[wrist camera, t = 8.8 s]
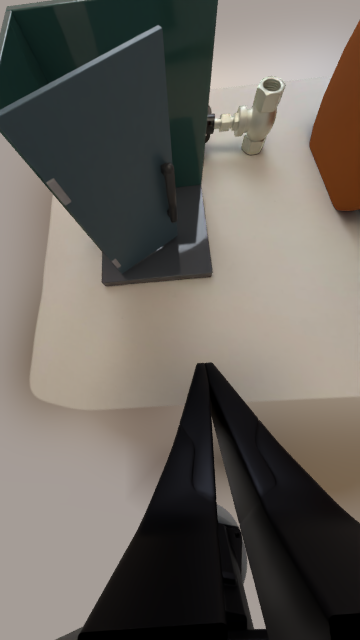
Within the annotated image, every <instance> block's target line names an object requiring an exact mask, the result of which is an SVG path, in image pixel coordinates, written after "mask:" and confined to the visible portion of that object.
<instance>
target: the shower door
mask: <svg viewBox="0 0 360 640" xmlns="http://www.w3.org/2000/svg"><path fill="white" fill-rule="evenodd" d="M0 129H1V130H2V131H3V132H4V134H5V135H6V136H7V137H8V138H9V139H10V141H11V142H12V143H13V144H14V145H15V147H16V148H17V149H18V150H19V151H20V153H21V154H22V155H23V156H24V157H25V159H26V160H27V161H28V162H29V163H30V165H31V166H32V167H33V168H34V169H35V170H36V172H37V173H38V174H39V175H40V176H41V178H42V179H43V180H44V181H45V182H46V184H47V185H48V186H49V187H50V188H51V190H52V191H53V192H54V193H55V194H56V196H57V197H58V198H59V199H60V200H61V202H62V203H63V204H64V205H65V206H66V207H67V209H68V210H69V211H70V212H71V213H72V215H73V216H74V217H75V218H76V219H77V221H78V222H79V223H80V224H81V225H82V227H83V228H84V229H85V230H86V231H87V233H88V234H89V235H90V236H91V237H92V238H93V240H94V241H95V242H96V243H97V244H98V246H99V247H100V248H101V249H102V250H103V252H104V253H105V254H106V255H107V256H108V258H109V259H110V260H111V261H112V262H113V264H114V265H115V266H116V267H117V268H118V270H119V271H120V272H121V273H122V274H123V273H124V272H125V271H127V270H128V269H130V268H131V267H133V266H134V265H136V264H137V263H139V262H140V261H141V260H143V259H144V258H146V257H147V256H149V255H150V254H152V253H153V252H154V251H156V250H157V249H159V248H160V247H162V246H163V245H165V244H166V243H168V242H169V241H170V240H172V239H173V238H175V237H176V236H178V233H177V204H176V189H175V174H174V166H173V165H172V152H171V139H170V125H169V112H168V99H167V85H166V72H165V58H164V45H163V31H162V28H161V27H160V26H159V25H157V26H155V27H153V28H151V29H150V30H148V31H146V32H144V33H142V34H140V35H138V36H137V37H135V38H133V39H131V40H129V41H127V42H125V43H124V44H122V45H120V46H118V47H116V48H114V49H112V50H111V51H109V52H107V53H105V54H103V55H101V56H99V57H97V58H96V59H94V60H92V61H90V62H88V63H86V64H84V65H83V66H81V67H79V68H77V69H75V70H73V71H71V72H70V73H68V74H66V75H64V76H62V77H60V78H58V79H57V80H55V81H53V82H51V83H49V84H47V85H45V86H44V87H42V88H40V89H38V90H36V91H34V92H32V93H30V94H29V95H27V96H25V97H23V98H21V99H19V100H17V101H16V102H14V103H12V104H10V105H8V106H6V107H4V108H3V109H1V110H0Z"/></svg>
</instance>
